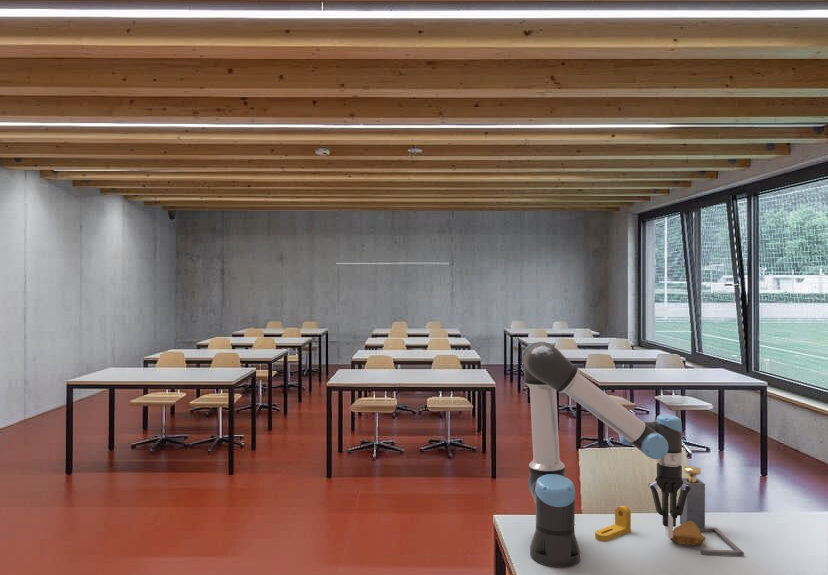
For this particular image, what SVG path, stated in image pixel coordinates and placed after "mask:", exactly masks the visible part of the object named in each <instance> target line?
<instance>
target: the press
mask: <svg viewBox="0 0 828 575" xmlns="http://www.w3.org/2000/svg"><path fill="white" fill-rule="evenodd" d="M682 480H683V483H684V484H687V485H688V486H689V487H690V491H689V492H688V493H687V497H686V501H685V505H684V509H683V513H682V515H681V516H680V515H679V524H680V525H682V524H683V523H686V522H688V521H692V522H693V523H694V524H696V525H697V527H698V528H699V531H700V532H701V533H714V535H716V536H717V537H718V538H719V539H720V540H721V541H722V542H723V543H725V545H727V546H728V547H729V548H730V550H729V549H728V550H727V549H705V548H704V549H703V548H701V549H700V550H699V551H700V552H699V553H700V554H701V556H727V557H744V556H745V552H744V551H743V550H742V549H740V548H739V546H738V545H736V544H735V543H734V542H733V541H731V540H730V539H729V538H728V537H727V536H726V535H725V534H723V532H721V531H720V530H719V529H718V528H717V527H706V483H705V482H703V481H702V480H700V479H699V478H697V477H696V483H689V477H682ZM680 491H681V487H680V489H679V492H680Z"/></svg>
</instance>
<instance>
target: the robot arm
mask: <svg viewBox="0 0 828 575" xmlns="http://www.w3.org/2000/svg"><path fill="white" fill-rule="evenodd" d="M521 364H522V365H523V368H524V369H523V372H524V373H523V374H524V384H525V385H526V386H527V387H528V388H529V398H530V399H529V400H530V401H529V402H530V417H531V418H530V419H531V420H530V421H531V436H532V437H531V438H532V439H531V440H532V455H533V457H532V460H531V461H530V462H529V464H528V467H529V468H528V469H529V470H528V471H529V473H528V475H529V476H528V481H527V485H528V490H529V493H530V495H531V496H532V499H533V501H534V504H535V530H534V533H533V536H532V539H531V542H530V545H529V555H530V557H531V559H533V560H534V561H535V562H537V563H539V564H542V565H544V566H548V567H553V568H569V567H573V566H576V565H578V564H579V563H580V561H581V549H580V546H579V542H578V540H577V537H576V533H575V525H576V524H575V520H576V519H575V518H576V516H575V513H576V511H575V510H576V508H575V506H576V503H575V501H576V500H575V499H576V490H575V485H574V483H573V481H572V480H571V479H570V478H568V477H566V469H565V468H566V466H565V463H563V461H561V459H560V458H561V457H560V456H561V455H560V440H559V422H558V400H557V399H558V397H557V396H558V395H557V393H559V394H561V393H565V395H566V396H568V397H570V398H571V399H572V400H573V401H575V402H576V403H578V404H579V405H580V406H581V407H583V408H584V409H585V410H587V411H588V412H589V413H590V414H592V415H593V416H595V417H596V418H597V419H599V421H601V422H603V423H604V424H605V425H606V426H608V427H609V428H610V429H612V430H613V431H614V432H616V433H617V434H618V439H619V442H620V443H621V444H622V445H625V446H629V447H630V446H634V447H635V448H636V449H638V450H639V451H641V452H642V453H643V454H644V455H645V456H646V457H647V458H650V459H653V460H656V462H657V463H656V477H655V481H654V482H652V483H651V482H650V483H648V485H647V486H648V488H649V489H650V491H651V494H652V499H653V503H654V507H655V510H656V513H658V515H660V516H662V525H663V526H664V527H665V528H664V529H665V533H664V534H665V535H666V537H667V538H668V539H670V538H673V530H674V528H675V527H677V518H678V516H679V517H680V516H681V515H682V513H683V509H684V505H685V501H686V497H687V493H688V492H689V491H690V487H689V486H688V485H687V484H684V483H683V480H682V478H683V466H682V463H683V460H682V459H683V451H682V450H683V448H682V446H683V445H682V443H683V425H682V420H681V418H680V417H678V416H676V415H672V414H659V415H657V417H656V420H655V421H643V420H642V419H640V418H639V417H637V416H636V415H635V414H633V413H632V412H631V411H629V410H628V409H627V408H626V407H624V405H622V404H621V403H619V402H618V401H617V400H615V399H614V398H612V397H611V396H610V395H608V394H607V393H606V392H604V390H602V389H601V388H599V387H598V386H597V385H595V384H594V383H593V382H592V381H590V380H589V379H587V378H586V377H585V376H583V374H581V373H580V370H579V368H578V367H577V366H576V365H575V364H573V363H572V361H571V360H569V359H568V358H567V357H566V356H564V354H563V353H562V352H561V351H560V350H559V349H558V348H557V347H555V346H553V345H552V344H551V343H549V342H545V341H535V342H532V343H531V344H529V345H528V346H526V348H525V349H524V350H523V353H522V356H521ZM658 487H659V489H660V491H661V501H660V496H659V492H658V491H657V490H658ZM680 487H681V491H680ZM678 491H679V496H678ZM677 497H678V499H677Z"/></svg>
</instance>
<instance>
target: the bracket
mask: <svg viewBox="0 0 828 575" xmlns="http://www.w3.org/2000/svg"><path fill="white" fill-rule="evenodd" d="M631 515H632V513H631V510H630V508H629V507H628V506H626V505H620V506H618V507H616V508H615V509H614V523H613V524H611V525H608V526H606V527H602V528H601V529H597V530H595V532H594V538H595V540H597V541H598V542H599V541H600V542H609V541H610V540H613V539H616V538H618V537H621V536H623V535H625V534H626V535H627V534H628V533H631V532H632V528H631V526H632V525H631V524H632V523H631V520H632V518H631V517H632V516H631Z"/></svg>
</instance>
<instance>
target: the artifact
mask: <svg viewBox="0 0 828 575" xmlns="http://www.w3.org/2000/svg"><path fill="white" fill-rule="evenodd" d="M669 539H670V541H673V542H674V543H676V544H678V545H691V546H703V542H704V541H705V540H706V537H705V536H704V535H703V534H702V532H700V531H699V528H698V527H697V525H696V524H694V523H693V522H692V521H688V522H686V523H683V524H682V525H681V524H680V525H678V526H675V527H673V538H669Z"/></svg>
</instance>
